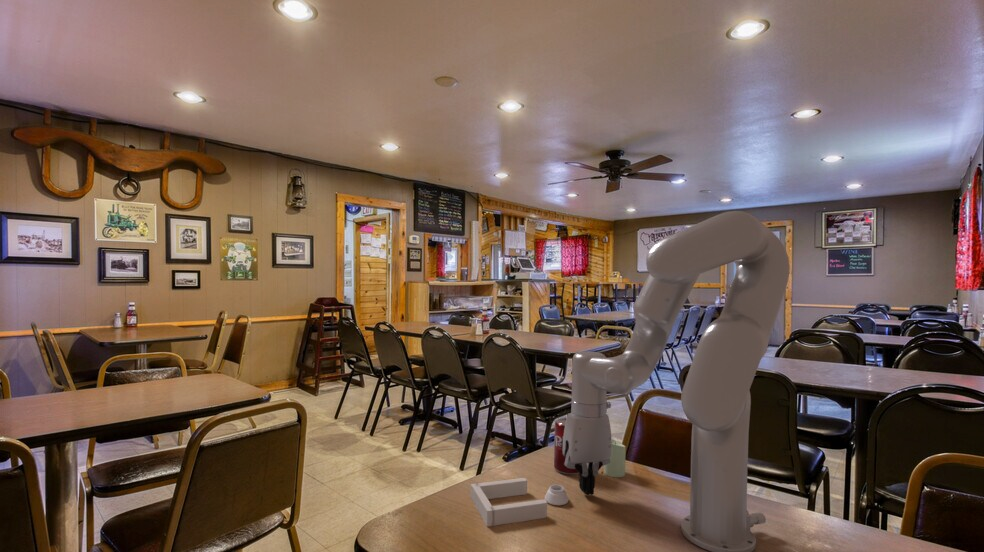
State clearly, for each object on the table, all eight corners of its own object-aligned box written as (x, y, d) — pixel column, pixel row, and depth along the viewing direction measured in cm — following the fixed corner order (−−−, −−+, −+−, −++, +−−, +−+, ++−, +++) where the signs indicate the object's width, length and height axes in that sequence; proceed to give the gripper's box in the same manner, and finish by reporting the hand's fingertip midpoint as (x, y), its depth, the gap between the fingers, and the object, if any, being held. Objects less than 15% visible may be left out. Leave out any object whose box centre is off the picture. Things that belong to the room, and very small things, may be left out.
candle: (616, 468, 118) (617, 435, 118) (629, 476, 114) (630, 442, 114) (600, 470, 117) (600, 437, 117) (612, 479, 112) (612, 444, 112)
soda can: (583, 477, 113) (584, 427, 113) (552, 474, 114) (553, 425, 114) (583, 465, 120) (584, 418, 120) (554, 462, 121) (555, 416, 121)
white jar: (572, 501, 101) (553, 493, 104) (572, 487, 101) (553, 480, 104) (560, 509, 97) (540, 501, 100) (560, 495, 97) (540, 487, 100)
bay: (524, 491, 105) (524, 477, 105) (546, 517, 93) (547, 502, 93) (470, 498, 101) (470, 484, 101) (486, 526, 90) (487, 511, 90)
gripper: (609, 402, 109) (607, 481, 109) (550, 406, 104) (548, 488, 104) (627, 411, 102) (626, 495, 102) (565, 416, 97) (563, 504, 97)
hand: (586, 491), depth 103 cm, fingers closed
